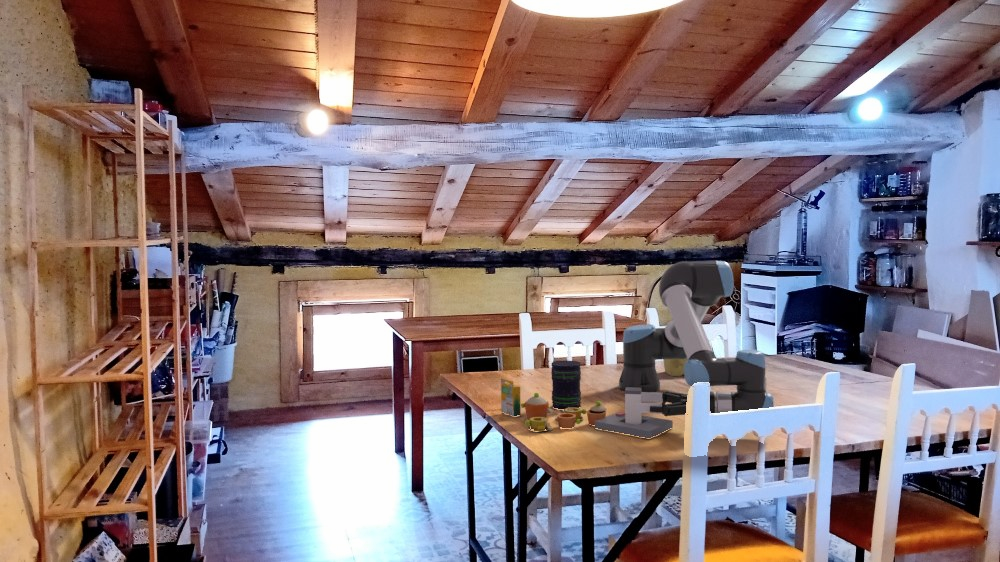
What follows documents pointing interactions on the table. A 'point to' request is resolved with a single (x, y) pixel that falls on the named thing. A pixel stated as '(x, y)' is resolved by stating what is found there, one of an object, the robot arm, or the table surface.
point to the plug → (632, 405)
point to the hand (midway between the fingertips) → (638, 402)
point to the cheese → (674, 366)
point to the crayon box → (510, 398)
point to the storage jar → (566, 384)
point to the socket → (645, 429)
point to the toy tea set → (539, 410)
